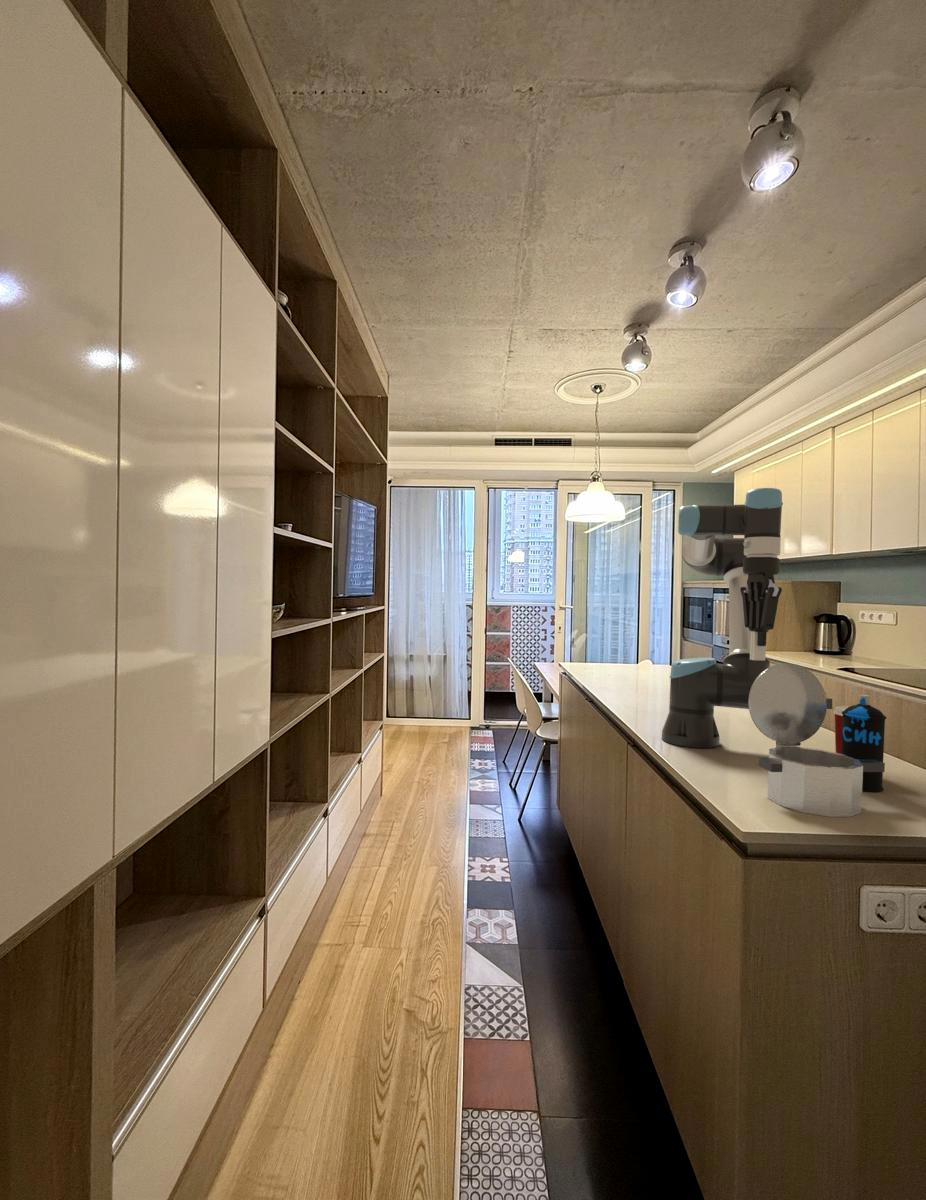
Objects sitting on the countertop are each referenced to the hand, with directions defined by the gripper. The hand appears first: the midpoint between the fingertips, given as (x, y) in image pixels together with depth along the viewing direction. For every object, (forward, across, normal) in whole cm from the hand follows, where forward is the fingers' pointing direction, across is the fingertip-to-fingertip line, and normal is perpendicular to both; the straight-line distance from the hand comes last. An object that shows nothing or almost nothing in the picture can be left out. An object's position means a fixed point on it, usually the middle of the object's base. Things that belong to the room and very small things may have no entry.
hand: (757, 659), depth 139 cm
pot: (+26, +17, +4) cm, 32 cm away
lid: (+9, +9, +3) cm, 13 cm away
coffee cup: (+27, -3, +26) cm, 37 cm away
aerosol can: (+27, +8, +20) cm, 34 cm away
